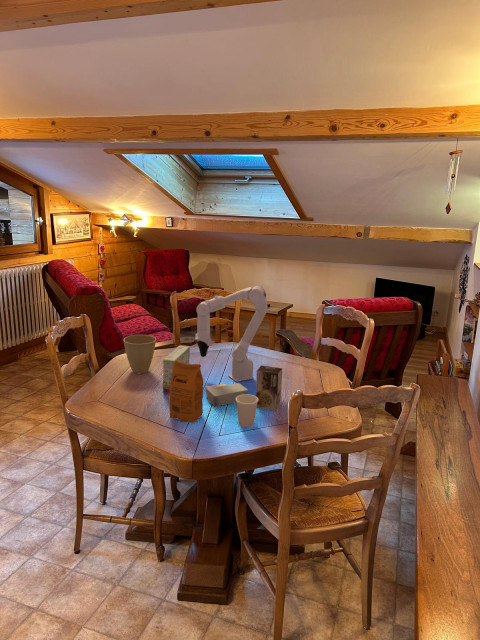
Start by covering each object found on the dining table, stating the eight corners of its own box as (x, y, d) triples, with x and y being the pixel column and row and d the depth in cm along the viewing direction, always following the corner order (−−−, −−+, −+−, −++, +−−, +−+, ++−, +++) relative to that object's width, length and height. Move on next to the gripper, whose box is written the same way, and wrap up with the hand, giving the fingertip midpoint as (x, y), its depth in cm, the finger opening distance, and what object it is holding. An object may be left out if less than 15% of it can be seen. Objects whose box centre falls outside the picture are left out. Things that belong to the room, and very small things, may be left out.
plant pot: (133, 379, 210) (132, 345, 206) (119, 369, 221) (118, 337, 217) (162, 372, 219) (161, 340, 215) (147, 363, 230) (146, 332, 226)
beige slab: (238, 392, 199) (238, 383, 197) (247, 399, 192) (247, 389, 191) (206, 398, 192) (206, 388, 190) (214, 406, 185) (214, 396, 184)
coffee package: (179, 407, 183) (179, 355, 177) (206, 414, 178) (207, 360, 172) (164, 417, 174) (164, 362, 169) (192, 425, 169) (192, 369, 163)
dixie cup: (259, 428, 169) (260, 402, 166) (237, 429, 167) (238, 404, 164) (254, 417, 176) (255, 393, 174) (233, 419, 175) (233, 394, 172)
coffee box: (280, 405, 188) (283, 367, 184) (276, 411, 182) (278, 373, 178) (259, 401, 191) (261, 364, 186) (254, 407, 185) (256, 370, 181)
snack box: (175, 394, 196) (174, 360, 192) (162, 392, 197) (161, 359, 193) (190, 376, 216) (190, 345, 212) (178, 375, 217) (178, 344, 213)
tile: (223, 388, 205) (224, 383, 204) (237, 399, 193) (237, 394, 193) (205, 391, 200) (205, 386, 200) (218, 403, 189) (218, 398, 189)
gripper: (189, 325, 216) (189, 352, 219) (201, 333, 203) (201, 362, 207) (203, 323, 219) (203, 350, 222) (216, 331, 207) (216, 360, 210)
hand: (203, 356), depth 215 cm, fingers closed
